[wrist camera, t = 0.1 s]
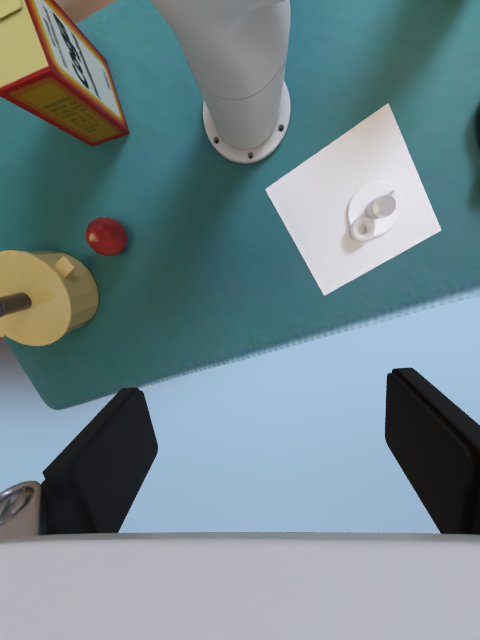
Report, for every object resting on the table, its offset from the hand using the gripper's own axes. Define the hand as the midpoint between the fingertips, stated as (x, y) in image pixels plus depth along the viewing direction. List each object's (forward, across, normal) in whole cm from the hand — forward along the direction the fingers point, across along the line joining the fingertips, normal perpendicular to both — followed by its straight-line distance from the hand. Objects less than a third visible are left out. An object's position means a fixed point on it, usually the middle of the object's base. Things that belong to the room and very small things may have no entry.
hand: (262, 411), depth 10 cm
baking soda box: (+37, +22, -29) cm, 52 cm away
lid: (+29, +38, -2) cm, 48 cm away
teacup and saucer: (+37, -15, -9) cm, 41 cm away
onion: (+37, +24, -10) cm, 45 cm away
